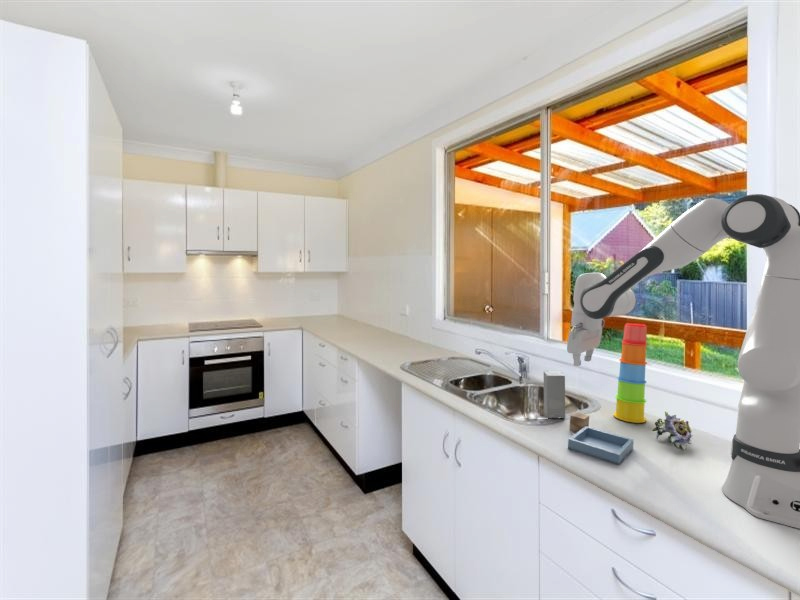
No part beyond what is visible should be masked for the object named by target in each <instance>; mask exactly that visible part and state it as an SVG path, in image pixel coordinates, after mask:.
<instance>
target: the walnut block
mask: <svg viewBox="0 0 800 600" xmlns="http://www.w3.org/2000/svg"><path fill="white" fill-rule="evenodd" d="M589 425H590V415H588V414H585V413H581V412H577V411H575V412H573V413H572V414H570V419H569V431H572V432H575V433H577V432H578V431H580V430H581V429H582V428H584V427H585V426H587V427H590V426H589Z"/></svg>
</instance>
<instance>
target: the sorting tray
mask: <svg viewBox="0 0 800 600" xmlns="http://www.w3.org/2000/svg"><path fill="white" fill-rule="evenodd" d="M567 449H568V450H570V451H575V452H578V453H580V454H583V455H586V456H589V457H592V458H595V459H598V460H602V461H604V462H607V463H610V464H614V465H617V466H620V465H621V464H622V462H624V460H626V458H627V457H628V456H629V455H630V454H631V452H632V451H633V450H634V439H632V438H630V437H625V436H621V435H619V434H615V433H612V432H608V431H605V430H601V429H597V428H594V427H590V426H589V427H587V426H585V427H584V428H582V429H581V430H580V431H578V432H575V433H574V434H573V435H572V436H570V437H569V438H568V441H567Z"/></svg>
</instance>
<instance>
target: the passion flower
mask: <svg viewBox="0 0 800 600" xmlns="http://www.w3.org/2000/svg"><path fill="white" fill-rule="evenodd" d="M664 416H665V419H664V420H663V419H662V418H658V419H657V421H655V422H654V425H655V427H654V428H653V429H652V430H651V431H652V432H655V431H657V433H656V440H658V439H659V437H660V436H662V435H663V434H664V433H669V436H667V442H668V443H672V444H673V446H674V447H675V448H676V449H680V450H681V451H686V448H687V445H688V444H689V445H692V440H691V439H693V435H692V433H693V430H692V428H691V427H690V424H689V423H690V422H689V421H688V420H686V421H685V420H684V419H681V418H680V417H677V415H676V414H674V415H670V414H669V412H667V411H664Z"/></svg>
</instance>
